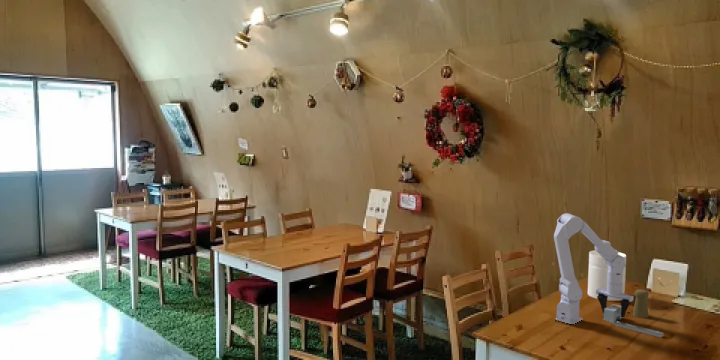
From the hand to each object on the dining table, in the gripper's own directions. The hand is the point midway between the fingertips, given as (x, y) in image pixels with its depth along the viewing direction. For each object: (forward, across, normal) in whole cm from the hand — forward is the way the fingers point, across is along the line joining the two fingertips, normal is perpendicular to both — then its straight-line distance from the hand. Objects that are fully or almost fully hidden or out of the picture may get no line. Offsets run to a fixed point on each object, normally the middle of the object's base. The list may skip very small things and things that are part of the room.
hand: (613, 314), depth 231 cm
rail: (+2, -12, +6) cm, 14 cm away
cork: (+2, -6, -13) cm, 14 cm away
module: (+2, 0, 0) cm, 2 cm away
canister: (+2, +16, -30) cm, 34 cm away
